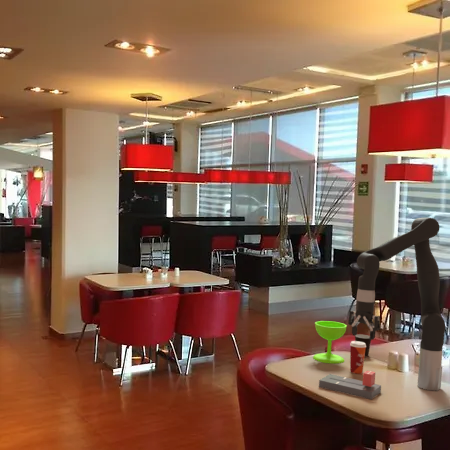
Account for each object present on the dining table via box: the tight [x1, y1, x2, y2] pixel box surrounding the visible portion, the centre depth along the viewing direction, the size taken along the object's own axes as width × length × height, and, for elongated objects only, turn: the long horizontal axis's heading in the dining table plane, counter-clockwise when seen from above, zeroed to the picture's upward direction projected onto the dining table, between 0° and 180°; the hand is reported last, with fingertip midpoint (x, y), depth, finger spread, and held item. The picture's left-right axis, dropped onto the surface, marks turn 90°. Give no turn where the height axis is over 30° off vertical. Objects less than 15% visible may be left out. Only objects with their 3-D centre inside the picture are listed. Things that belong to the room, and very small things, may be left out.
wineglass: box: [312, 320, 348, 364], centre depth 285 cm, size 16×16×18 cm
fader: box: [362, 370, 376, 387], centre depth 233 cm, size 4×5×6 cm
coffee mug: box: [354, 334, 372, 358], centre depth 296 cm, size 12×9×10 cm
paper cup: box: [349, 340, 366, 375], centre depth 264 cm, size 8×8×14 cm
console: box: [318, 373, 382, 400], centre depth 237 cm, size 23×12×3 cm, turn 57°
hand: (363, 337), depth 240 cm, fingers open, 8 cm apart
